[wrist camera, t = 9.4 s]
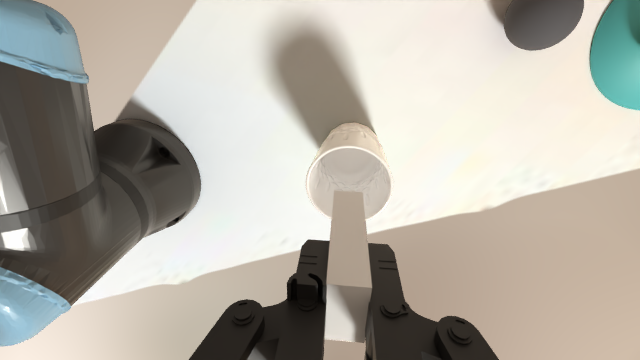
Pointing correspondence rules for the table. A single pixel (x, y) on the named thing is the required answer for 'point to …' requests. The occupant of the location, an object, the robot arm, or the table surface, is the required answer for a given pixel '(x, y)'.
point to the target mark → (618, 54)
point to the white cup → (350, 170)
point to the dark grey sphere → (541, 22)
